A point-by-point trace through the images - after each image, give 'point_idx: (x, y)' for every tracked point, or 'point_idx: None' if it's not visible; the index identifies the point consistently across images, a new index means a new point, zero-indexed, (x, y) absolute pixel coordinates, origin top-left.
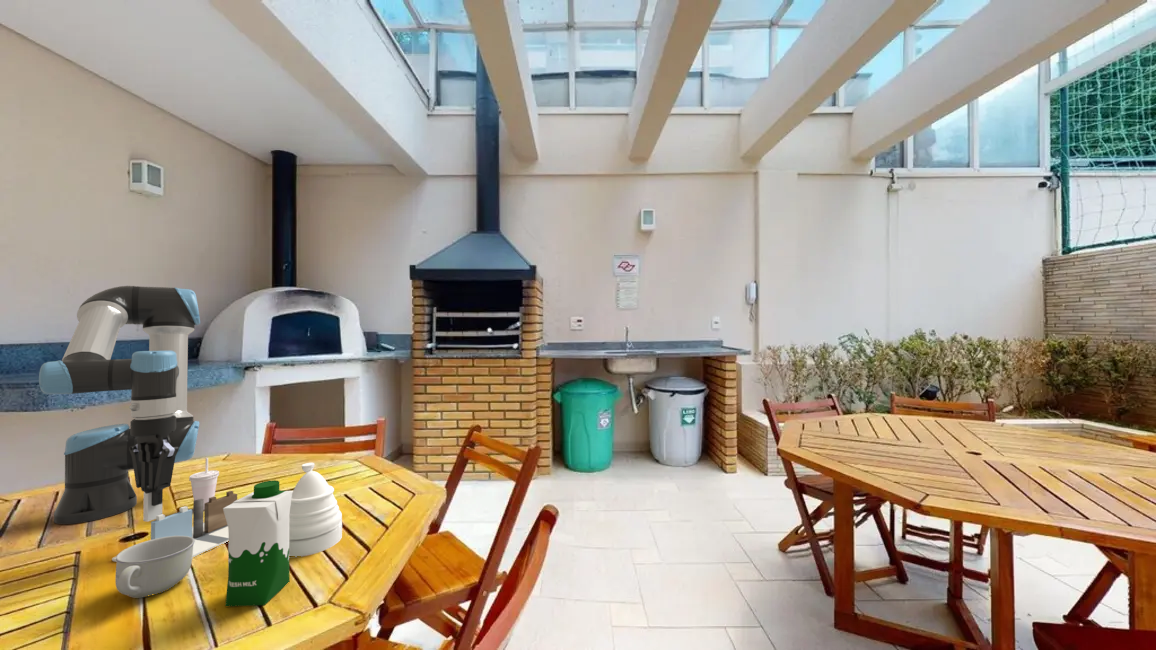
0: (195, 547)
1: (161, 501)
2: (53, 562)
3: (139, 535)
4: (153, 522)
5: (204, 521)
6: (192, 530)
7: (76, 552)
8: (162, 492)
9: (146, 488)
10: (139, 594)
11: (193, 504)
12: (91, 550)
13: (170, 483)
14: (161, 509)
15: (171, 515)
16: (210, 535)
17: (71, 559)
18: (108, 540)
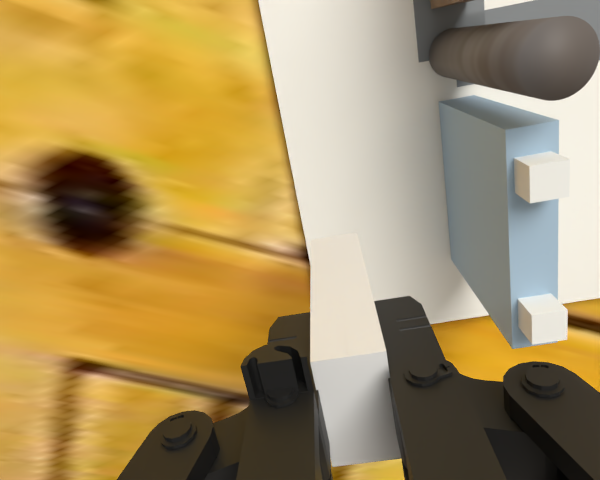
0: (592, 126)
1: (421, 311)
2: (124, 426)
3: (85, 187)
4: (537, 344)
5: (451, 3)
6: (319, 30)
7: (79, 369)
8: (442, 353)
9: (328, 475)
10: None
11: (529, 96)
12: (109, 339)
13: (589, 387)
14: (361, 258)
15: (526, 247)
16: (514, 10)
17: (151, 393)
18: (31, 276)
